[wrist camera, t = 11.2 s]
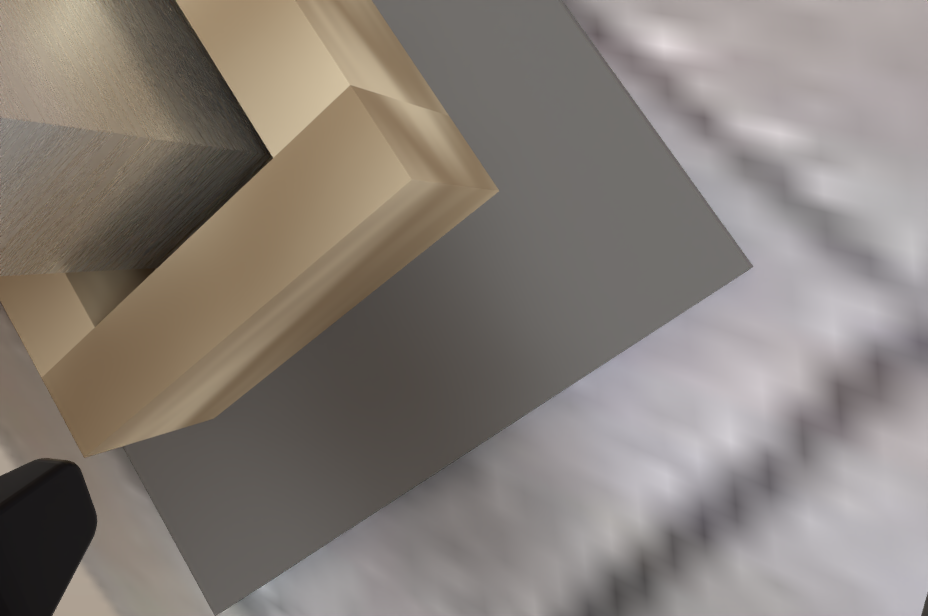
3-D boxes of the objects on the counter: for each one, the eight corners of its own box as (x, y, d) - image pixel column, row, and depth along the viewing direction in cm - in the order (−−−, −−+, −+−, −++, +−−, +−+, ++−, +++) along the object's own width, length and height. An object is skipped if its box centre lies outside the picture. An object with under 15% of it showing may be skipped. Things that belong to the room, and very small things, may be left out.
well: (499, 191, 17) (411, 179, 14) (213, 418, 21) (84, 457, 17) (273, -147, 19) (139, -239, 15) (44, 120, 22) (-108, 98, 19)
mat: (753, 266, 16) (750, 268, 15) (235, 603, 22) (215, 615, 21) (294, -372, 19) (273, -396, 18) (-53, 81, 25) (-79, 76, 24)
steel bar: (340, 165, 19) (-416, 58, 7) (229, 264, 20) (-539, 304, 9) (255, 29, 19) (-563, -265, 8) (154, 135, 21) (-655, 17, 9)
